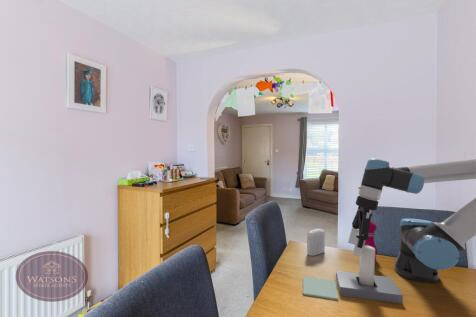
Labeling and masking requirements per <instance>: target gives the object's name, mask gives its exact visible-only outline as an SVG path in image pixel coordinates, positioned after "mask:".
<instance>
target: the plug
mask: <svg viewBox="0 0 476 317" xmlns="http://www.w3.org/2000/svg"><path fill="white" fill-rule="evenodd" d="M375 264H376V262H375V248H373V247H371V246H366V245H364V247H363V251H362V254H361V257H359V265H358V266H359V269H358V273H359V285H361V286H369V287H374V275H375V267H376V266H375Z"/></svg>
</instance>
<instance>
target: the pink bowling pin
mask: <svg viewBox="0 0 476 317" xmlns="http://www.w3.org/2000/svg"><path fill="white" fill-rule="evenodd" d="M376 231H377V225H376V223H375V222H373V221H372V220H371V221H370V227H369V234H368V240H365V244H364V245H366V246H371V247H373V248H375V263H376V261H377V255H378V248H377V246H376V244H375V238H374V237H375V236H376Z"/></svg>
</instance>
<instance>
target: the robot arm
mask: <svg viewBox="0 0 476 317" xmlns="http://www.w3.org/2000/svg"><path fill="white" fill-rule="evenodd" d="M363 172H364V173H363V175H362V178H361V179H362V180H361V183H360V186H358V188H357V189H358V190H359V191H358V196H357V197H356V201H355V204H356V206H358V207H357V210H356V213H355V215H354V218H353V221H352V223H351V225H352V227H351V231H350V234H349V236H348V241H347V243H349V244H351V245H354V247H353V251H352V255H354V256H357V257H359V258H360V257H361V254H362V251H363V247H364V244H365V240H368V234H369V227H370V221H371V222H372V216H373V214H372V213H370V212H371V211H377V209H378V205H379V200H380V199H381V194H382V193H383V188H384V187H385V188H391V189H394V190H397V191H401V192H405V193H409V194H414V195H417V194H419V193H421V192H422V190H423V189H424V185H425V184H429V183H430V184H431V183H439V182H443V183H444V182H455V181H467V180H476V159H466V160H464V159H463V160H458V161H449V162H448V161H445V162H440V163H439V162H438V163H430V164H429V163H428V164H419V165H410V166H401V167H395V166H393V167H390V162H389V161H386V160H383V159H377V158H372V157H371V158H369V159H368V160H367V162H366V165H365V168H364V171H363ZM475 236H476V197H475V198H474V199H472V200H470V201H469V202H468V203H466V204H465V205H464V206H462V207H461V208H459V209H458V210H456V211H455V212H454V213H453V214H451V215H450V216H449V217H447V218H446V219H444V220H443V221H442V222H435V221H434V222H433V221H431V220H426V219H419V218H409V217H407V218H406V217H405V218H402V219H401V220H400V223H399V253H398V255H397V257H396V259H395V262H394V267H393V268H394V271H395V272H396V273H397V274H399V275H400V276H402V277H404V278H406V279H409V280H412V281H415V282H419V283H429V284H430V283H436V282H438V281H439V277H440V276H439V274H440V273H439V271H438V270H440V271H442V270H449V269H452V268H453V267H455V266H456V265H457V264H458V262H459V260H460V259H459V258H460V253H462V252H464V251H465V250H466V243H467V242H468V241H469V240H471V239H472V238H473V237H475Z"/></svg>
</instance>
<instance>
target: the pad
mask: <svg viewBox="0 0 476 317" xmlns="http://www.w3.org/2000/svg"><path fill="white" fill-rule="evenodd" d="M302 279H303V281H302V295H303V296H309V297H316V298H323V299H328V300H335V301H336V300H337V301H339V296H338V291H337V286H336V282H335V280H334V279H333V280H331V279H325V278H318V277H309V276H302Z"/></svg>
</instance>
